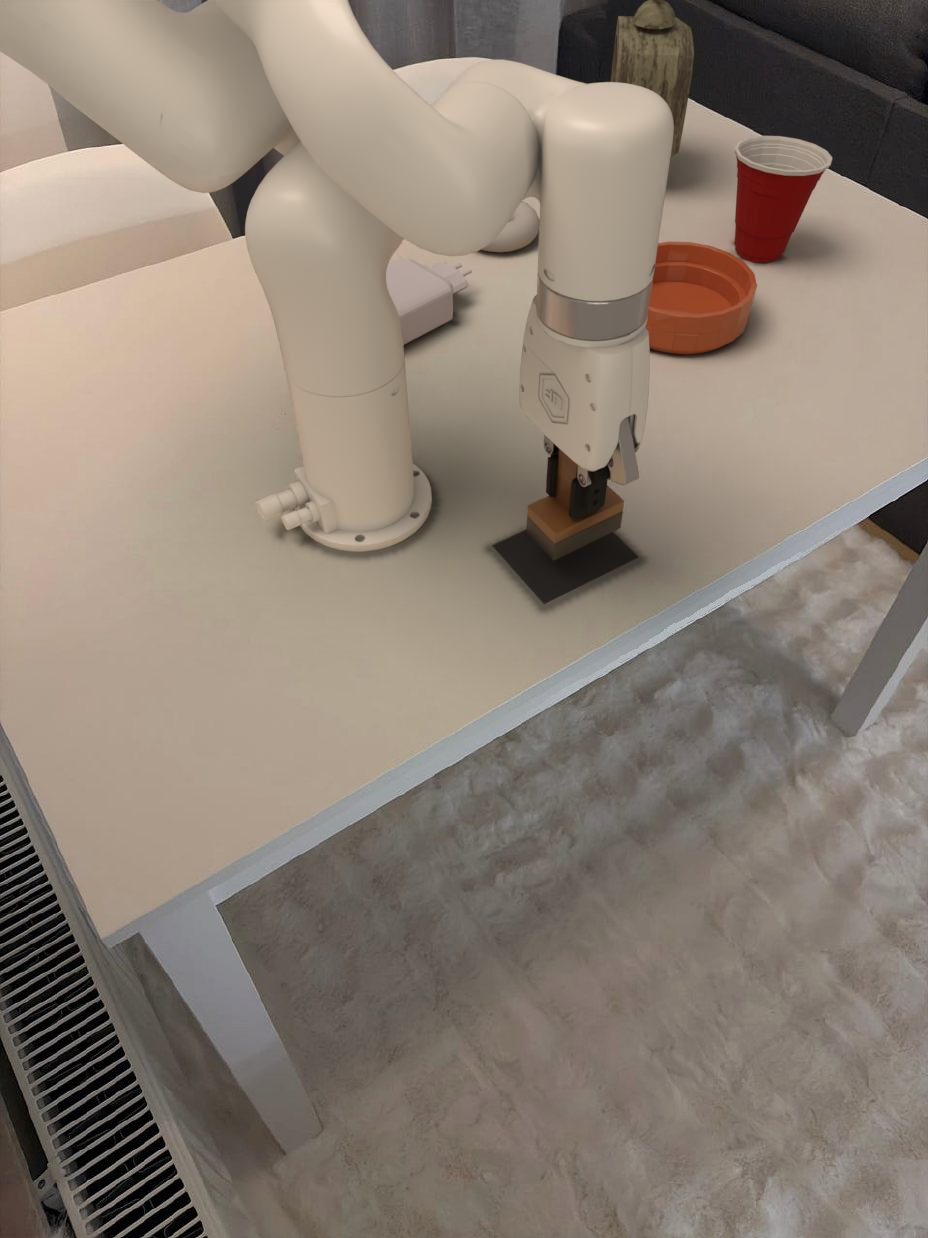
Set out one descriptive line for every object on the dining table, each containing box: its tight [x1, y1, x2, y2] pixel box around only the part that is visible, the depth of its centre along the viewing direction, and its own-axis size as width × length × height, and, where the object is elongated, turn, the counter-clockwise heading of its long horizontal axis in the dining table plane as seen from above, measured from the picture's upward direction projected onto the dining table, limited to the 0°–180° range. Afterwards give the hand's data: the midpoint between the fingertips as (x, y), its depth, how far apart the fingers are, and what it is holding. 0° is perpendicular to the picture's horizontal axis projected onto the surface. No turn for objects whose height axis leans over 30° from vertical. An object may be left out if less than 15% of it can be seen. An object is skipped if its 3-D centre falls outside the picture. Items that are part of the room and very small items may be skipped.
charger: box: [386, 256, 473, 346], centre depth 103 cm, size 5×9×15 cm
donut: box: [480, 200, 540, 253], centre depth 114 cm, size 10×4×10 cm
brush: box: [526, 449, 625, 561], centre depth 74 cm, size 7×4×9 cm, turn 122°
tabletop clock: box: [610, 0, 695, 159], centre depth 116 cm, size 14×9×25 cm, turn 174°
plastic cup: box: [733, 135, 833, 264], centre depth 108 cm, size 11×11×12 cm
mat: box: [491, 529, 639, 605], centre depth 80 cm, size 10×8×1 cm
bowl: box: [645, 241, 758, 355], centre depth 101 cm, size 15×15×5 cm
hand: (574, 499), depth 75 cm, fingers closed on brush, 2 cm apart
